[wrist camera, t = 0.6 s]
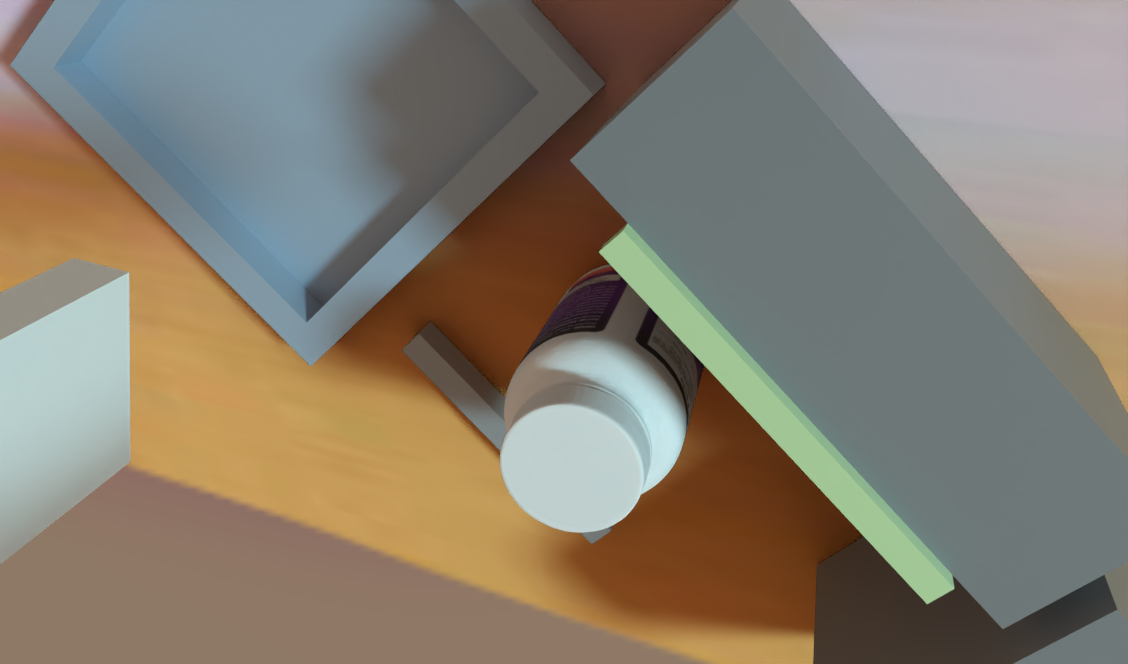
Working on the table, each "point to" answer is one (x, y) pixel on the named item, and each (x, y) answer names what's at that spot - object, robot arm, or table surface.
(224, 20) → the tray
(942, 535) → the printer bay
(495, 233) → the table surface
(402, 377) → the table surface
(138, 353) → the table surface
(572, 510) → the pill bottle
